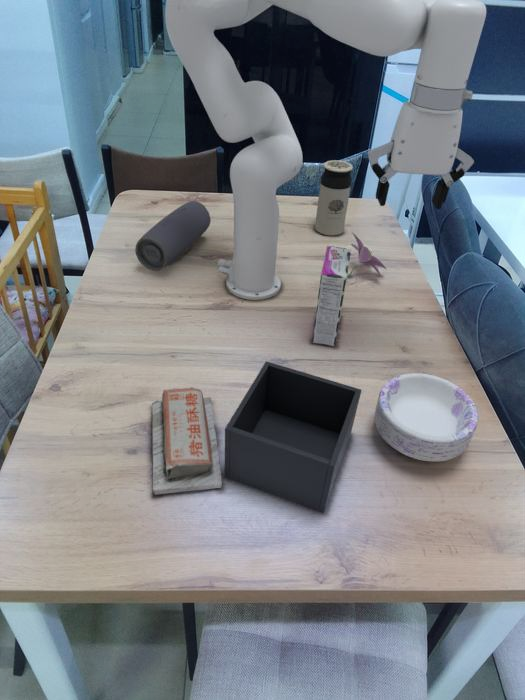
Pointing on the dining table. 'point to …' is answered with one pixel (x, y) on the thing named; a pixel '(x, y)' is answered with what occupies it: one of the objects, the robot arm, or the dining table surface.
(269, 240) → the robot arm
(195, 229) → the bluetooth speaker
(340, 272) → the candy bar box
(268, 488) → the open storage box
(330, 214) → the travel mug
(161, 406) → the packaged product
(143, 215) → the dining table surface
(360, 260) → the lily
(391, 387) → the paper bowls
